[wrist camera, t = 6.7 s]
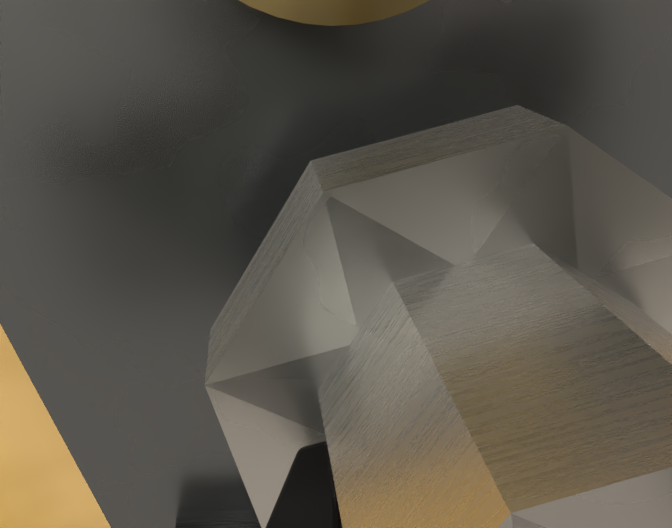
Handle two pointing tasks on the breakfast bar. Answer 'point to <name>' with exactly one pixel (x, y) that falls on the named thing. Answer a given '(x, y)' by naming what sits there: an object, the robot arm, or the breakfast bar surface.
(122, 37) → the carrier
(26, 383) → the breakfast bar surface
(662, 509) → the octagonal pipe fitting
